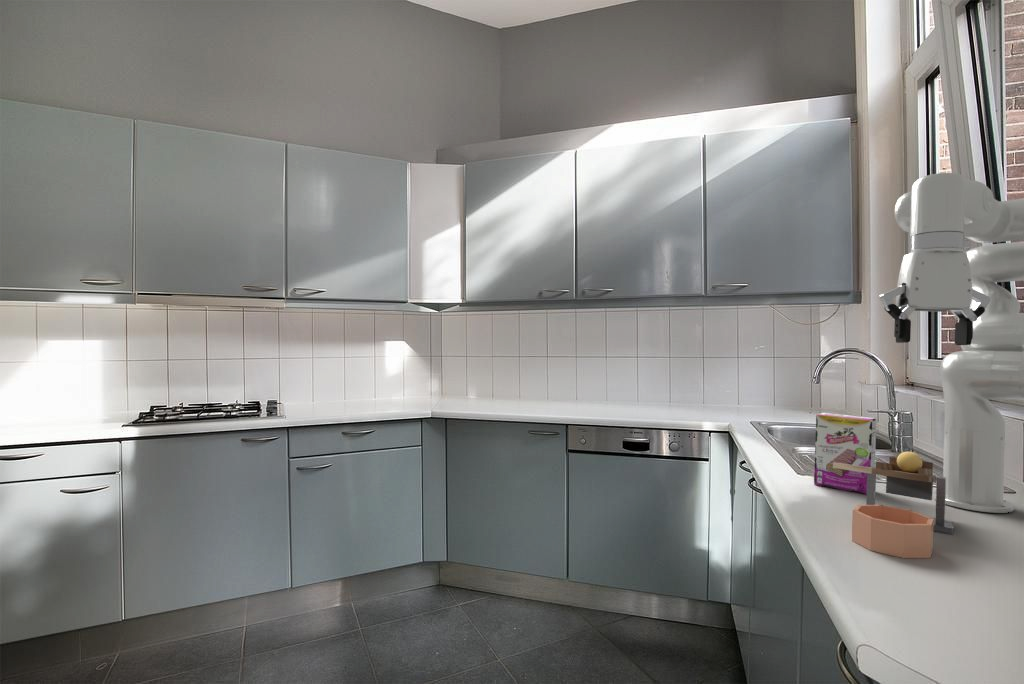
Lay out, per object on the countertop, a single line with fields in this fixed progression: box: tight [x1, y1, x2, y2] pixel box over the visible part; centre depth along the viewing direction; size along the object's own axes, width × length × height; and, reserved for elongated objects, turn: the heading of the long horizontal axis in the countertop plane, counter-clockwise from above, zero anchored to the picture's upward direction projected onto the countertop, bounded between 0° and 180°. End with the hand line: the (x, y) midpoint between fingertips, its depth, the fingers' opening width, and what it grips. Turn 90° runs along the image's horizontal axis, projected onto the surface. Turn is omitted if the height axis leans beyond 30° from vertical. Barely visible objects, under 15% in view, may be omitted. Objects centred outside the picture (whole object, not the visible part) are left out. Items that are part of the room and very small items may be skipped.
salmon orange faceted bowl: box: [851, 504, 934, 559], centre depth 88 cm, size 10×10×5 cm
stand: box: [865, 466, 955, 535], centre depth 100 cm, size 5×14×9 cm, turn 49°
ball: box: [896, 451, 923, 473], centre depth 105 cm, size 4×4×4 cm
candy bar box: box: [813, 412, 877, 495], centre depth 123 cm, size 11×5×16 cm, turn 47°
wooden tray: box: [833, 456, 937, 501], centre depth 102 cm, size 18×14×7 cm
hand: (932, 343), depth 96 cm, fingers open, 9 cm apart
